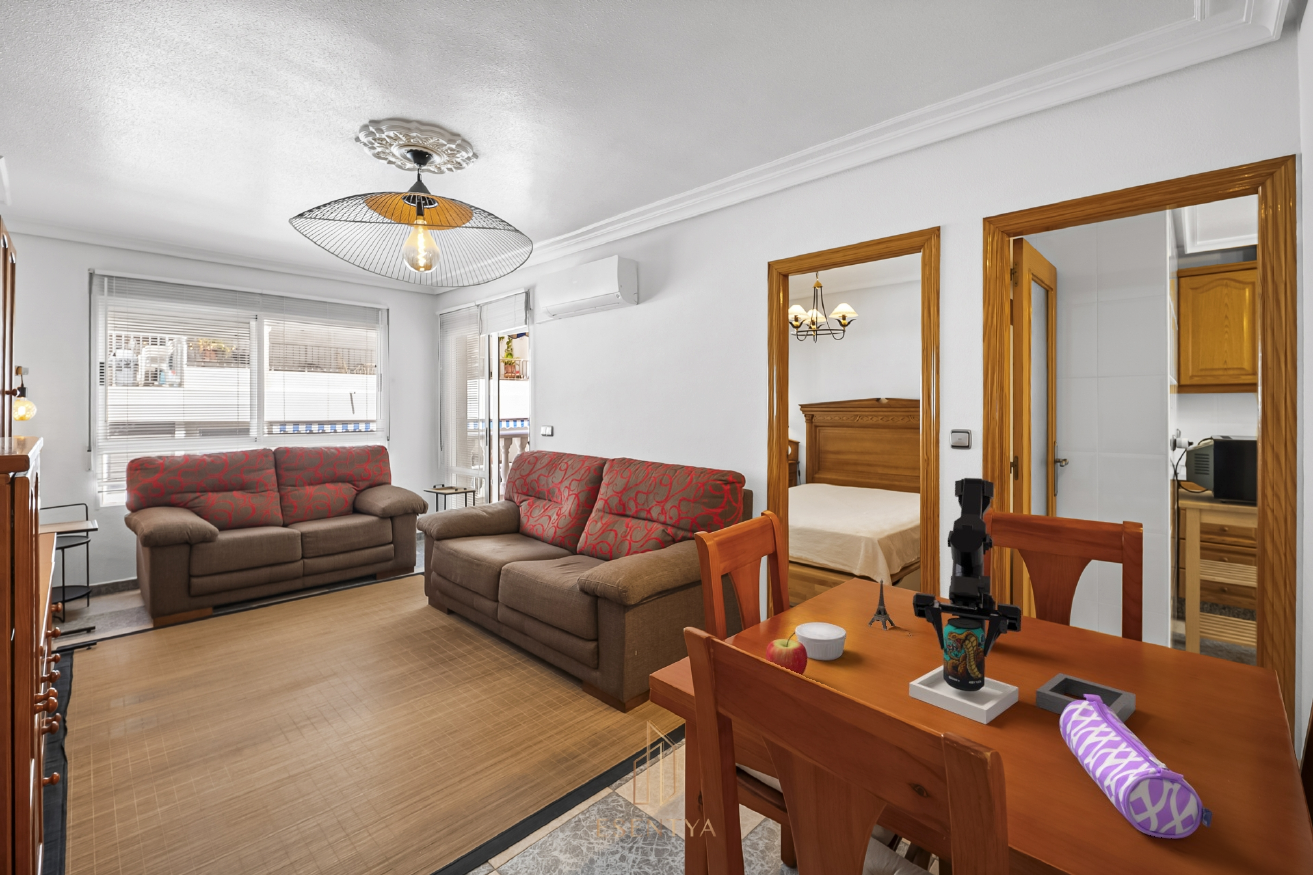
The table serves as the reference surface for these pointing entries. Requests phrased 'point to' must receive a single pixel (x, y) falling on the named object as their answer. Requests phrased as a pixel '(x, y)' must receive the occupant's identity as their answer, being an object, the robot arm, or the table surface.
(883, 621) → the eiffel tower figurine
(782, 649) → the apple
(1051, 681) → the collar
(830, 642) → the ramekin
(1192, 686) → the table surface
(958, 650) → the beverage can
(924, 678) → the tray
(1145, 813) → the pencil case
